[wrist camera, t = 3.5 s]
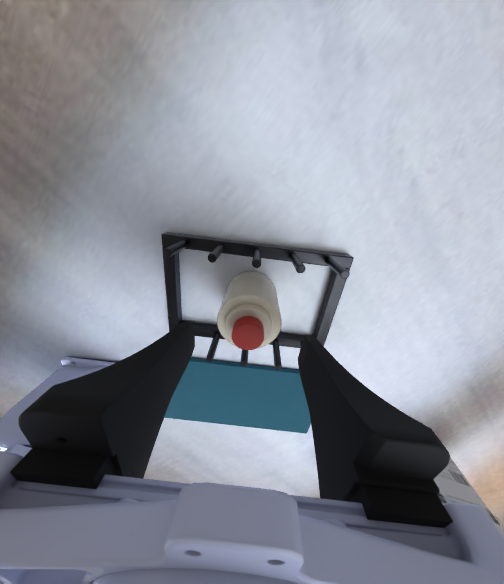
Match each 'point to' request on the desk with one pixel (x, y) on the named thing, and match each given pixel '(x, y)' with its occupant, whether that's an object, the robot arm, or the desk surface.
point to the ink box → (460, 491)
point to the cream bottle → (250, 312)
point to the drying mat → (241, 396)
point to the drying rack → (257, 251)
